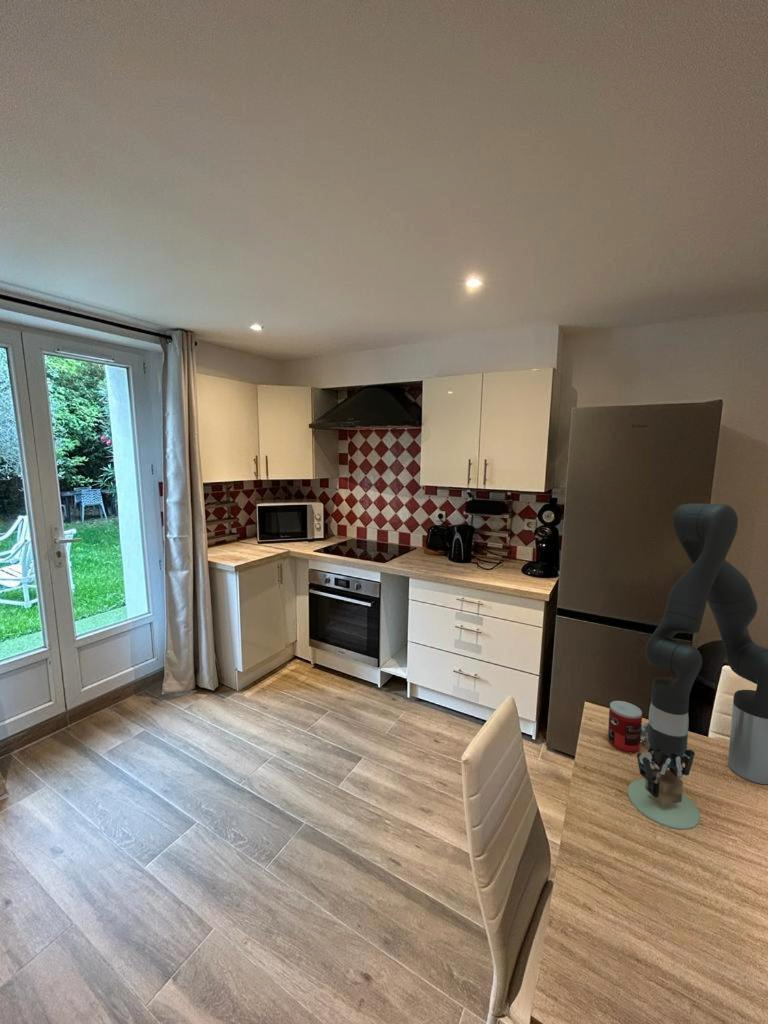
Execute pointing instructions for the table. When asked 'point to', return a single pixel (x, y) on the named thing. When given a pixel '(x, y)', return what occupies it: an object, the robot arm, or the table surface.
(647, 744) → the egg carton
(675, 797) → the walnut block
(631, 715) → the canned food
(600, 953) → the table surface
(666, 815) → the sage mat
